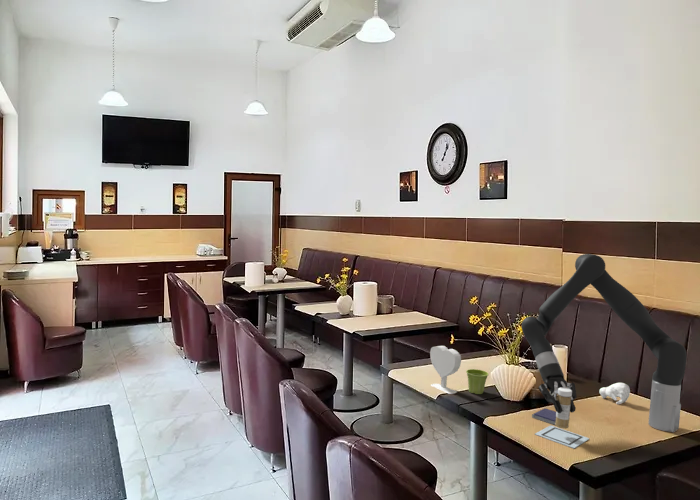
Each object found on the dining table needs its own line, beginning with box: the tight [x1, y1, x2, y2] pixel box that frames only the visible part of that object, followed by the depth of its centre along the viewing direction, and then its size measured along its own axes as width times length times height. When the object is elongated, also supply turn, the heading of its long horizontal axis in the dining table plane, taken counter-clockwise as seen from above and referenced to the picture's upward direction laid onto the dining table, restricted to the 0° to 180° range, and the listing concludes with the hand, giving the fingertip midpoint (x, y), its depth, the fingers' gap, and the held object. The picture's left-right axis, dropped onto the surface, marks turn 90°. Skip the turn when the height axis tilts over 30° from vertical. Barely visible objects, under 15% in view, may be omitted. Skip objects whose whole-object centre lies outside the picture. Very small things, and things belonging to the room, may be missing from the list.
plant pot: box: [465, 368, 489, 395], centre depth 228 cm, size 9×9×9 cm
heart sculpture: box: [429, 345, 462, 395], centre depth 230 cm, size 16×5×18 cm, turn 34°
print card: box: [534, 424, 590, 450], centre depth 185 cm, size 14×12×1 cm
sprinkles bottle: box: [554, 387, 572, 430], centre depth 185 cm, size 5×5×14 cm
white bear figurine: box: [599, 382, 631, 405], centre depth 224 cm, size 6×8×12 cm
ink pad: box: [531, 407, 556, 426], centre depth 202 cm, size 9×10×2 cm
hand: (566, 411), depth 183 cm, fingers closed on sprinkles bottle, 4 cm apart
